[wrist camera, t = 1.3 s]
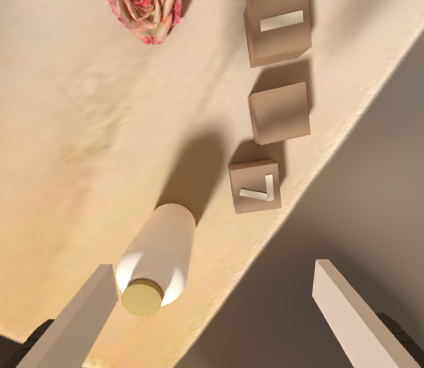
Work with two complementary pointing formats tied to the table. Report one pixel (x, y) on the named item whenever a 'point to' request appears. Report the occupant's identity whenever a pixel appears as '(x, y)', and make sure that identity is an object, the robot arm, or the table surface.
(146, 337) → the table surface
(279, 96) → the plain block
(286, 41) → the marked block one
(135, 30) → the flower
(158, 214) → the potion bottle
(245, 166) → the marked block seven
